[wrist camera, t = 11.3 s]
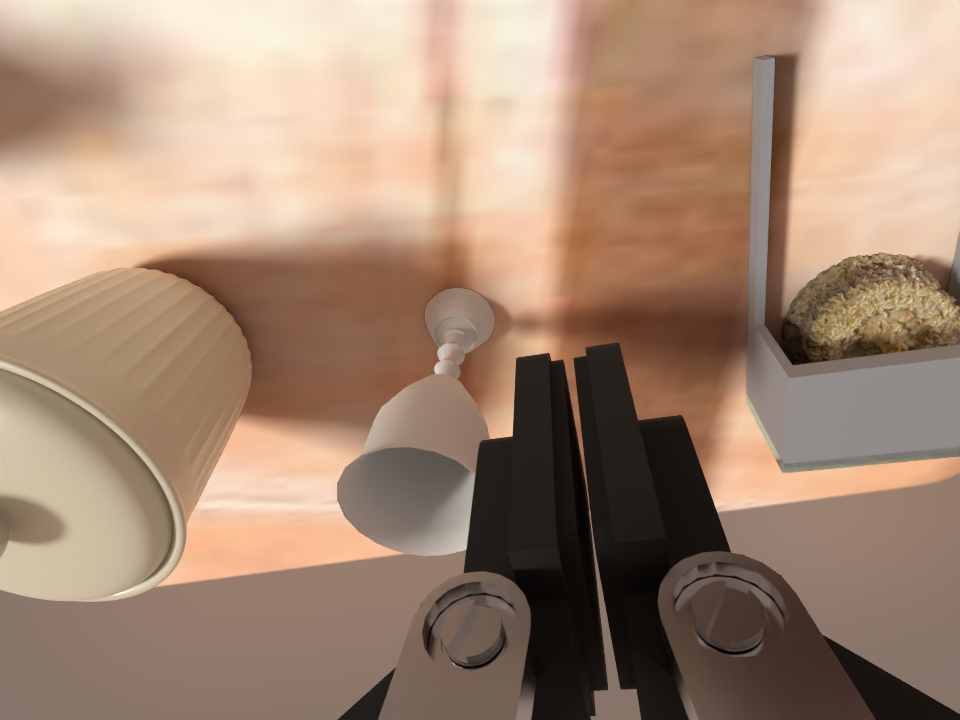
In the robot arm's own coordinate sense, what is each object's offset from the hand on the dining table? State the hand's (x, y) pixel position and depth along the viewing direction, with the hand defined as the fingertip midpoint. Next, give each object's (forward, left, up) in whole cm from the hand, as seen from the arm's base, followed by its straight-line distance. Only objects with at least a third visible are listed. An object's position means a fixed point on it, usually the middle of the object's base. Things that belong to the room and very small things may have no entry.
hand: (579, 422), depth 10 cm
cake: (+17, +19, -29) cm, 39 cm away
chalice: (+12, -8, -29) cm, 33 cm away
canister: (+10, -30, -29) cm, 43 cm away
